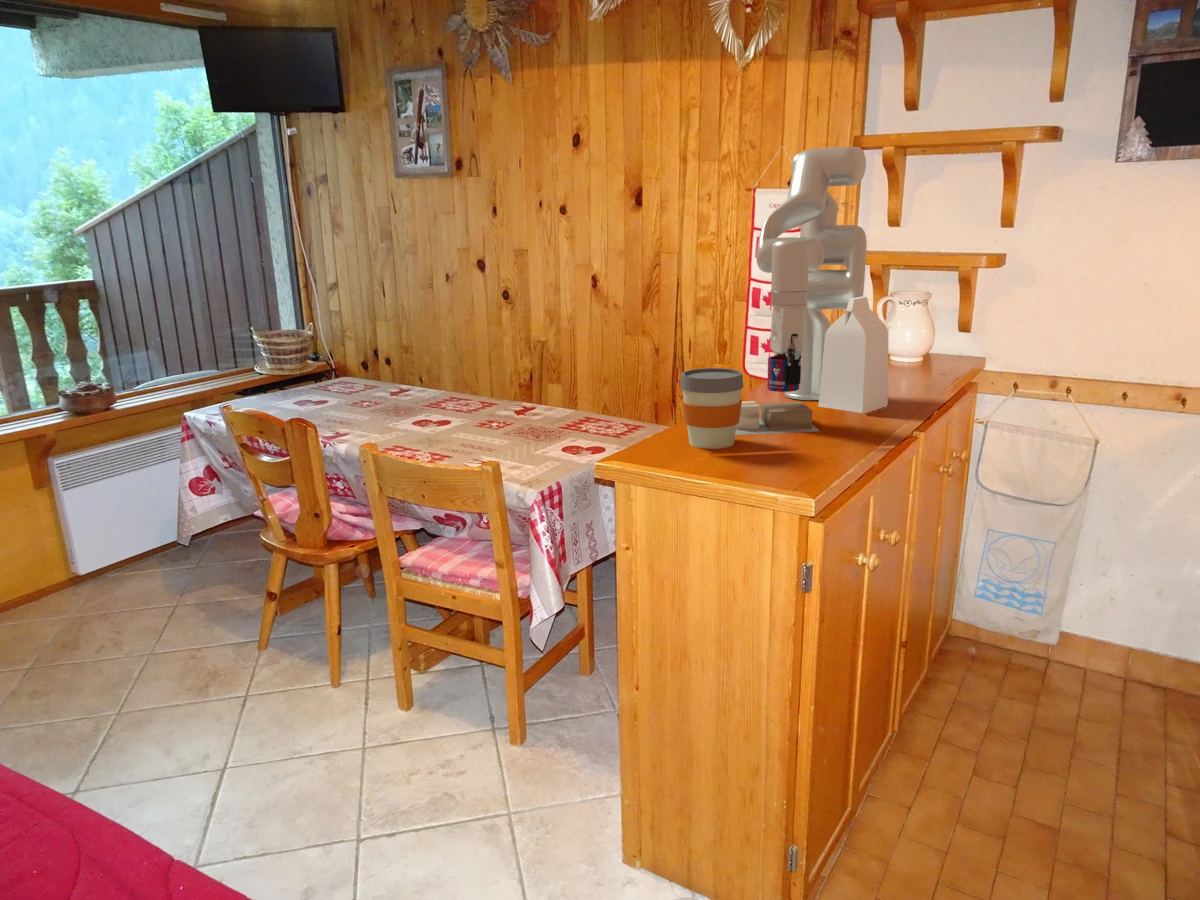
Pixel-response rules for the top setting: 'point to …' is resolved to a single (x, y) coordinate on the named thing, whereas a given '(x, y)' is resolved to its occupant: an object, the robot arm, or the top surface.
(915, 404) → the top surface
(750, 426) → the birch cube
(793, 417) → the walnut slab
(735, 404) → the reusable coffee cup
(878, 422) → the top surface
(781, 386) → the cup
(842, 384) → the milk
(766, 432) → the board
